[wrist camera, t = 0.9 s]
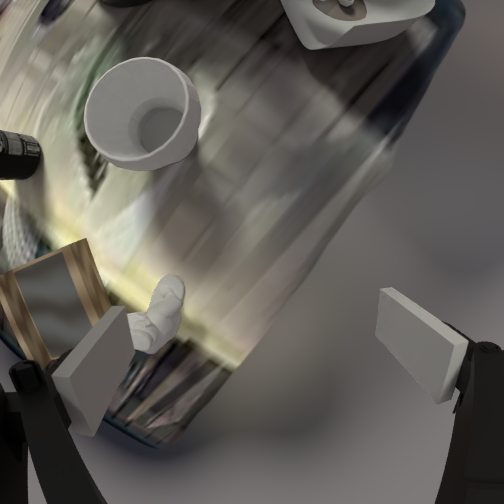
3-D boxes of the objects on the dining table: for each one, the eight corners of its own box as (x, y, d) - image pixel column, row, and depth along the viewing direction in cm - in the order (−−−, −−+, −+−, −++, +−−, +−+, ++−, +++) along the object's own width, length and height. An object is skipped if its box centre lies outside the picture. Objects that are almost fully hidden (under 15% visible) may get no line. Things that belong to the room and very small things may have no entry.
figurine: (150, 264, 40) (121, 293, 28) (195, 283, 41) (182, 319, 29) (132, 321, 42) (103, 364, 30) (174, 338, 42) (157, 387, 31)
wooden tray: (9, 271, 39) (-8, 279, 34) (86, 237, 39) (69, 244, 34) (48, 358, 42) (35, 372, 37) (127, 340, 42) (117, 356, 37)
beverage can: (9, 176, 36) (-42, 178, 24) (17, 135, 35) (-32, 126, 23) (38, 182, 36) (-13, 183, 25) (47, 138, 35) (-3, 127, 24)
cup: (212, 169, 38) (201, 157, 23) (132, 181, 38) (81, 179, 23) (205, 91, 36) (192, 41, 21) (127, 105, 35) (78, 68, 21)
